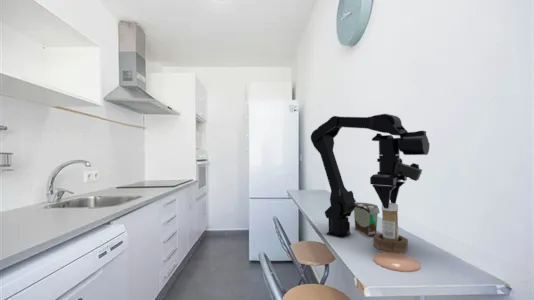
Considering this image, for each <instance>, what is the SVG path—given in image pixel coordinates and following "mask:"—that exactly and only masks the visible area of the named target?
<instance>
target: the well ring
mask: <svg viewBox="0 0 534 300" xmlns="http://www.w3.org/2000/svg"><path fill="white" fill-rule="evenodd" d="M372 237H373V247H374V248H376V249H377V250H378V251H381V252H395V253H400V254H406V253H407V251H408V249H409V239H408V238H406V237H404V236H403V235H400V234H398V241H393V242H392V241H387V240H383V232H382V233H381V232H379V233H376V235H374V236H372Z"/></svg>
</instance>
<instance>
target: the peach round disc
mask: <svg viewBox="0 0 534 300" xmlns="http://www.w3.org/2000/svg"><path fill="white" fill-rule="evenodd" d="M373 262H374V263H375V264H376V265H377V266H379V267H381V268H384V269H387V270H390V271H393V272H400V273H413V272H418V271H420V269H421V262H420V261H419V260H418V259H417V258H415V257H412V256H410V255H407V254H406V253H395V252H384V251H381V252H376V253H375V254H374V255H373Z"/></svg>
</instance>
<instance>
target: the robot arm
mask: <svg viewBox="0 0 534 300" xmlns="http://www.w3.org/2000/svg"><path fill="white" fill-rule="evenodd" d="M402 123H403V122H402V120H401V118H400V117H399V116H397V115H393V114H389V113H382V114H375V115H372V116H366V117H365V116H364V117H362V116H337V115H333V116H331V117H330V118H329V119H328V120H326V121H325V122H324V123H322V124H320V126H318V127H317V128H316V129H314V130H313V131H312V132H311V135H310V141H311V143H312V145H313V147H314V149H316V151H317V152H318V153H319V154H320V158H321V161H322V164H323V167H324V170H325V174H326V178H327V180H328V181H327V182H328V184H329V188H330V198H329V203H330V206H329V207H328V208H327V209H326V210H325V211H324V215H325V218H326V219H328V231H327V232H326V235H328V236H332V237H337V238H341V239H343V238H346V237H347V236H349V235H351V225H350V223H351V222H350V221H349V217H351V214H352V212H354V208H355V202H357V200H356V199H355V197H354V193H353V191H352V190H347V188H346V187H345V184H344V181H343V178H342V175H341V171H340V168H339V165H338V163H337V159H336V156H335V154H334V153H335V152H334V148H335V147H334V145H335V137H336V136H338V134H339V132H340V130H341V129H342V128H346V129H347V128H349V129H350V128H352V129H366V130H367V129H368V130H371V131H375V132H378V133H376V135H375V136H374V137H372V138H371V141H373V142H378V158H376V160H377V161H376V162H377V163H378V165H379V166H378V170H379V171H377V173H375V174H372V175H371V176H370V177H369V183H370V185H371V186H372V187H373V189H374V190H375V192H376V194H377V196H378V198H379V200H380V203H381V206H382V205H383V207H384V208H386V209H388V208H389V203H395V204H397V199H398V195H399V192H400V188H401V187H402V186H403V185H404V184H406V181H408V179H407V178H409V179H410V180H413V181H419V180H420V177H421V175H422V172H423V169H421V168H420V165H419V164H417V163H414V162H413V163H411V164H410V165H409V164H405V163H403V159H402V158H401V156H400V153H401V152H402V154H403V155H404V156H427V155H428V154H429V152H430V142H429V139H428V136H427V131H425V130H418V131H410V132H409V131H408V130H407V129H406V128H405V127H404V126H403V124H402ZM379 132H380V133H379ZM383 133H384V135H382V134H383ZM385 134H386V135H385ZM394 136H397V137H394Z"/></svg>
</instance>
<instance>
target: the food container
mask: <svg viewBox="0 0 534 300" xmlns="http://www.w3.org/2000/svg"><path fill="white" fill-rule="evenodd" d="M378 214H380V208H379V206H378V205H377V204H374V203H370V202H369V203H368V202H357V201H356V202H355V208H354V210H353V217H354V228H355V230H356V231H357V232H360V233H361V234H363V235H365V236H367V237H368V238H370V237H373V236H374V235H376V234H377V227H378V226H377V225H378V224H377V223H378Z"/></svg>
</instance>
